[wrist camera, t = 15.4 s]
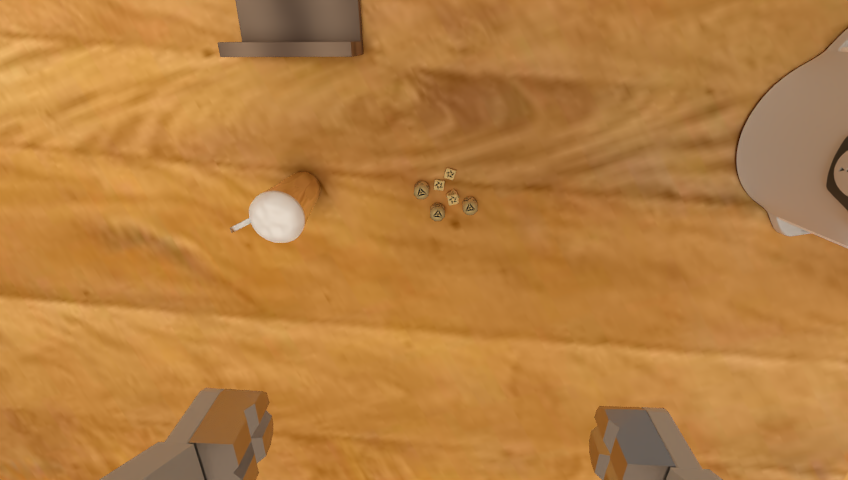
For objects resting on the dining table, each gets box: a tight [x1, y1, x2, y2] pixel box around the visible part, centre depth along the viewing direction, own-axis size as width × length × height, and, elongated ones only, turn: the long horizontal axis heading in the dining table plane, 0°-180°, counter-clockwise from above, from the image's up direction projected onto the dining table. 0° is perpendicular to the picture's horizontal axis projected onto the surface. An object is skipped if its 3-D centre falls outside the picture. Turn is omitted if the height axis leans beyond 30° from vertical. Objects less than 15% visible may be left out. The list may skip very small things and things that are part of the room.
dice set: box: [414, 167, 477, 221], centre depth 42 cm, size 5×5×2 cm
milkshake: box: [230, 172, 321, 243], centre depth 38 cm, size 5×5×10 cm
